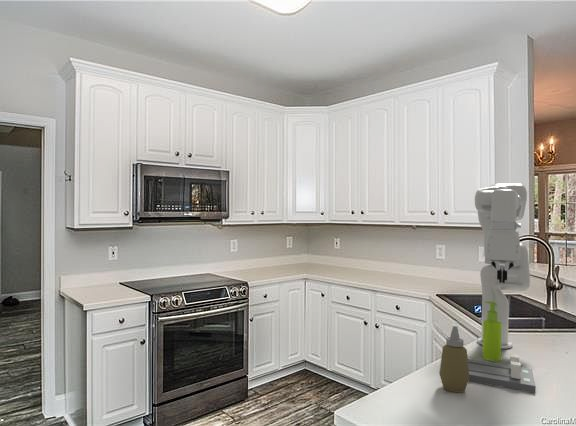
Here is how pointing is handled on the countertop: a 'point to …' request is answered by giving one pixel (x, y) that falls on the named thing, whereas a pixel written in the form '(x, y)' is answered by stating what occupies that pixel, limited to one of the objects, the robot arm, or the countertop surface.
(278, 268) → the countertop surface
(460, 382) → the squeeze bottle
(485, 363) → the slider switch panel
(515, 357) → the block
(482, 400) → the countertop surface
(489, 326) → the soap dispenser
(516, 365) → the block
